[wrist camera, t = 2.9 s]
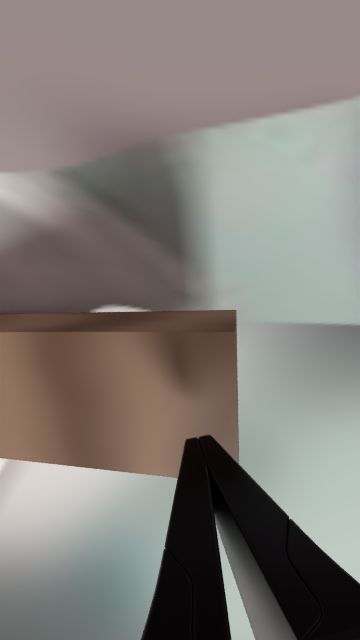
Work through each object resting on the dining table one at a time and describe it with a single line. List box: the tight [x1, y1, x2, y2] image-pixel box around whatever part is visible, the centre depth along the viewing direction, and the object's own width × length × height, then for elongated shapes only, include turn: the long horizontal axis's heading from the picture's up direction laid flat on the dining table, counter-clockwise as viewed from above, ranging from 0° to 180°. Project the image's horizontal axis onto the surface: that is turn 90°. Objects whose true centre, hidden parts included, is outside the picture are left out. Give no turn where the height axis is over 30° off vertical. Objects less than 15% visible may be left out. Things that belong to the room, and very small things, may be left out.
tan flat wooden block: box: [0, 310, 239, 478], centre depth 12 cm, size 12×7×2 cm, turn 96°
